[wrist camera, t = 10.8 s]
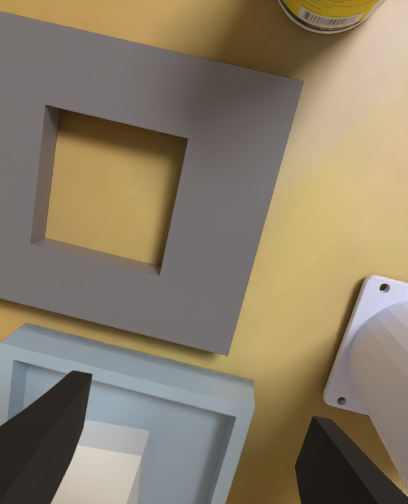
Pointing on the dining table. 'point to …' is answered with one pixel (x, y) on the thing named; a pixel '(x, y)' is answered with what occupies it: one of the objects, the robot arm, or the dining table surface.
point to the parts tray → (141, 407)
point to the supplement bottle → (329, 13)
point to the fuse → (106, 466)
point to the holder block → (189, 189)
